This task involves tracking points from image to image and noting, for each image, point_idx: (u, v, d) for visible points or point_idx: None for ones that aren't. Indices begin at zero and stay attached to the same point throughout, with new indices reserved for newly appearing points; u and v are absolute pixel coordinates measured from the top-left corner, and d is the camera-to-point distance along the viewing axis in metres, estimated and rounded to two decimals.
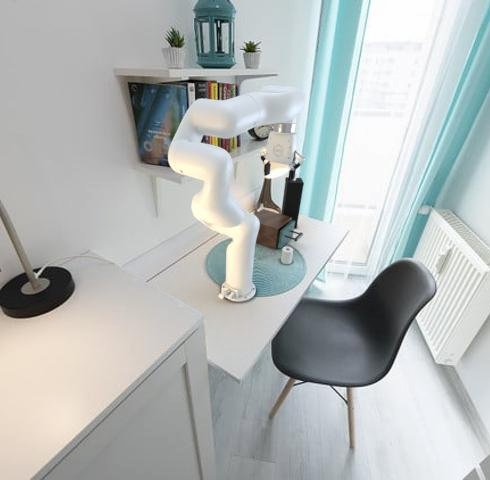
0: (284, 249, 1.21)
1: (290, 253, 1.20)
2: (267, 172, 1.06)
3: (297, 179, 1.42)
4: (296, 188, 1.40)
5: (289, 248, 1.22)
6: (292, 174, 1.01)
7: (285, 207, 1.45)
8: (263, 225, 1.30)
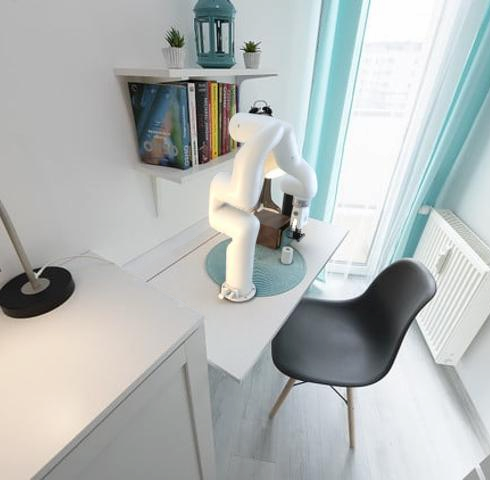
0: (284, 249, 1.21)
1: (290, 253, 1.20)
2: None
3: None
4: None
5: (289, 248, 1.22)
6: None
7: (285, 207, 1.45)
8: (263, 225, 1.30)
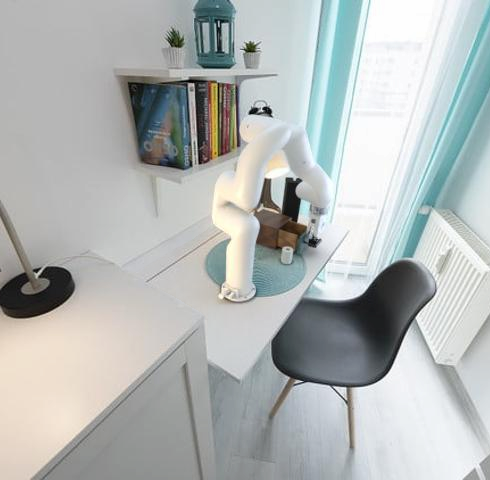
0: (284, 249, 1.21)
1: (290, 253, 1.20)
2: None
3: (297, 179, 1.42)
4: None
5: (289, 248, 1.22)
6: None
7: (285, 207, 1.45)
8: (263, 225, 1.30)
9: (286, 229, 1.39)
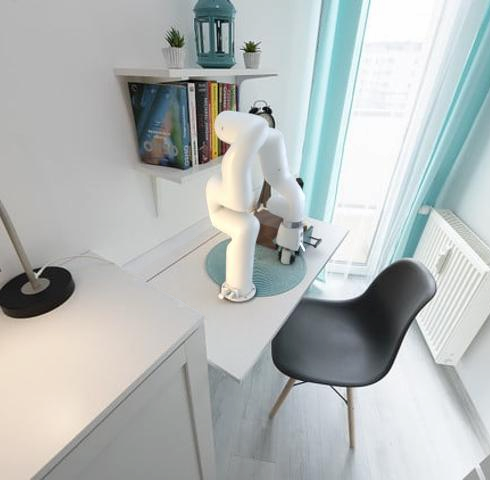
0: (284, 249, 1.21)
1: (290, 253, 1.20)
2: None
3: (297, 179, 1.42)
4: None
5: None
6: None
7: None
8: (263, 225, 1.30)
9: None
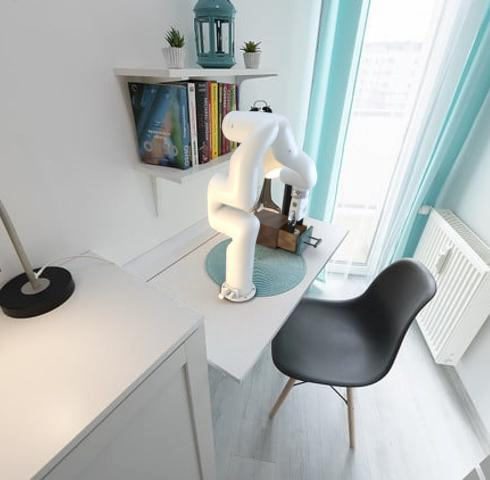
0: None
1: None
2: None
3: None
4: None
5: (296, 231, 1.30)
6: None
7: (285, 207, 1.45)
8: (263, 225, 1.30)
9: (286, 229, 1.39)
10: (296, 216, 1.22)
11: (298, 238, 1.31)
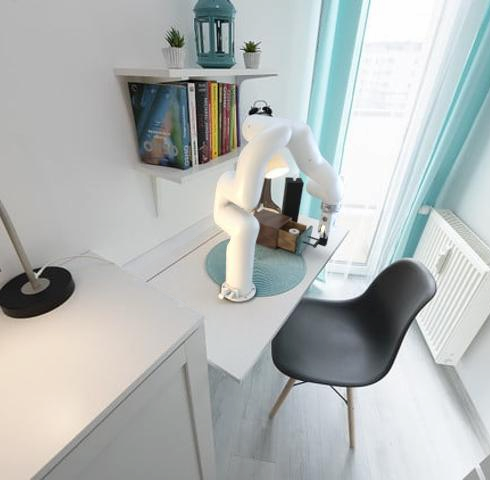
0: (293, 229, 1.32)
1: None
2: None
3: (297, 179, 1.42)
4: (296, 188, 1.40)
5: (295, 231, 1.30)
6: None
7: (285, 207, 1.45)
8: (263, 225, 1.30)
9: (286, 229, 1.39)
10: (326, 231, 1.17)
11: None
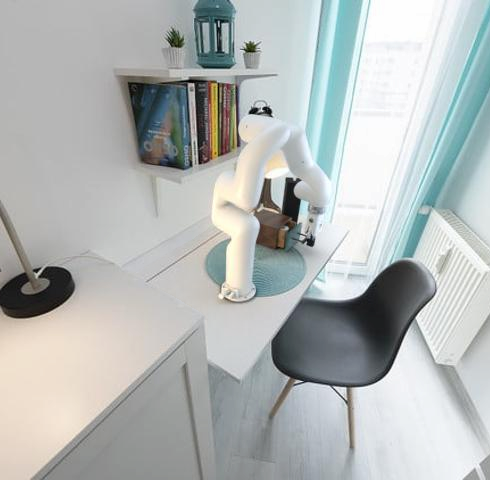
0: (282, 226, 1.35)
1: None
2: None
3: (297, 179, 1.42)
4: None
5: (285, 228, 1.33)
6: None
7: (285, 207, 1.45)
8: (263, 225, 1.30)
9: None
10: (312, 232, 1.20)
11: None
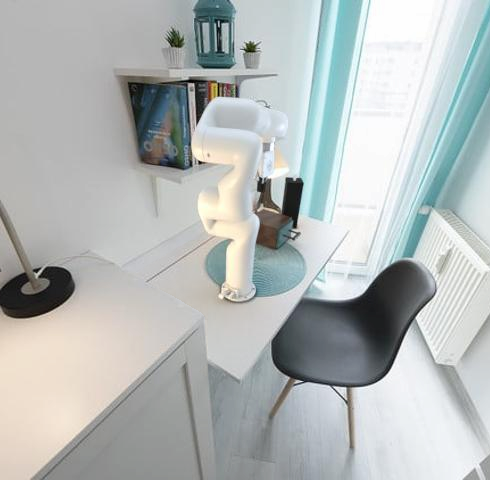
0: None
1: None
2: None
3: (297, 179, 1.42)
4: (296, 188, 1.40)
5: None
6: None
7: (285, 207, 1.45)
8: (263, 225, 1.30)
9: None
10: (260, 172, 1.10)
11: None
